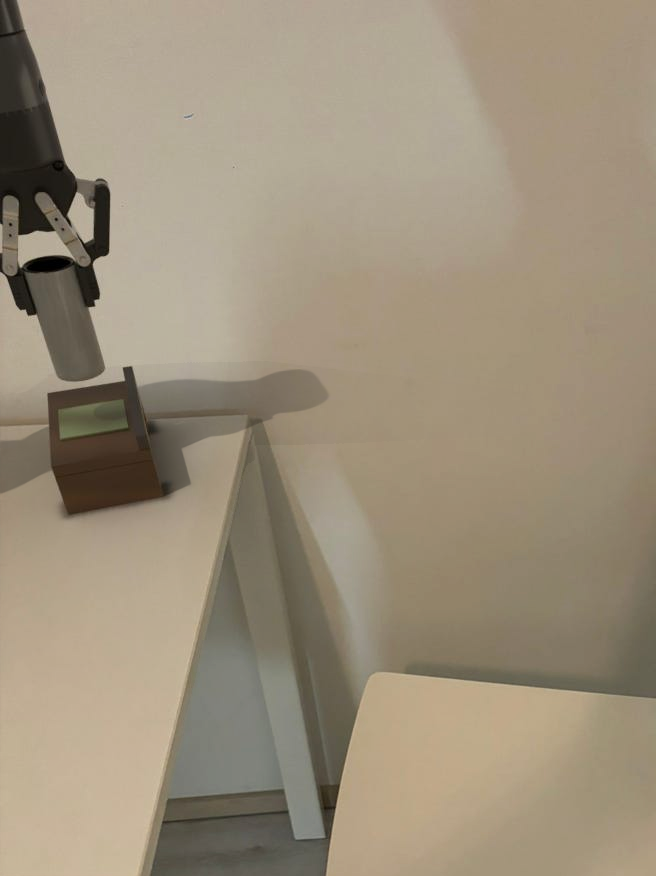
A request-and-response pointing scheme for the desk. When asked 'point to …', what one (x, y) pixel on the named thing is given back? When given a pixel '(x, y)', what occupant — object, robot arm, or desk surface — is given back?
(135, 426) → the brown wooden box
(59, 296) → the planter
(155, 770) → the desk surface
